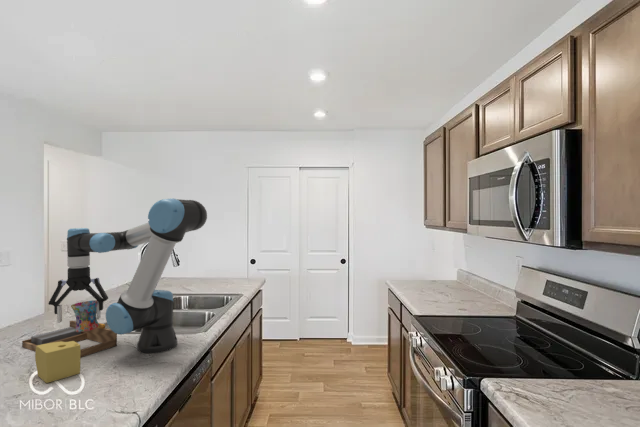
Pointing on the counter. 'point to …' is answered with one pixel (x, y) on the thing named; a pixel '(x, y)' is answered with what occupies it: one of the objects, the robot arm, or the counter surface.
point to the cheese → (57, 360)
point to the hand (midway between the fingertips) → (79, 320)
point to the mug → (85, 315)
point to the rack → (76, 338)
